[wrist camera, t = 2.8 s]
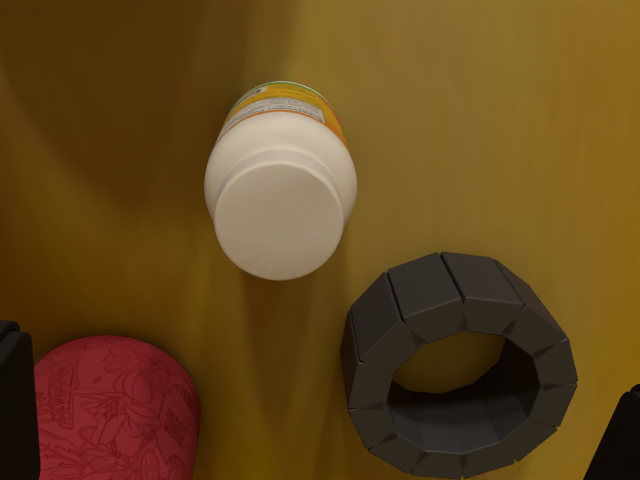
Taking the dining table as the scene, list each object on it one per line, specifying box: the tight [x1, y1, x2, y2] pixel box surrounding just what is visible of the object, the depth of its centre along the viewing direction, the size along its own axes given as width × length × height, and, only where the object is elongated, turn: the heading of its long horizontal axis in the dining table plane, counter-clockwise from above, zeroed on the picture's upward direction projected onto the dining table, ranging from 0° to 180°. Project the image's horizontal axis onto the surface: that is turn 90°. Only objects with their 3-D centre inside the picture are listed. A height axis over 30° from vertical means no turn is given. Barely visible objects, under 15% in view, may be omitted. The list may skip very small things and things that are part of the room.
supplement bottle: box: [204, 81, 357, 280], centre depth 22 cm, size 5×5×10 cm
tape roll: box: [340, 252, 578, 479], centre depth 29 cm, size 11×11×4 cm
